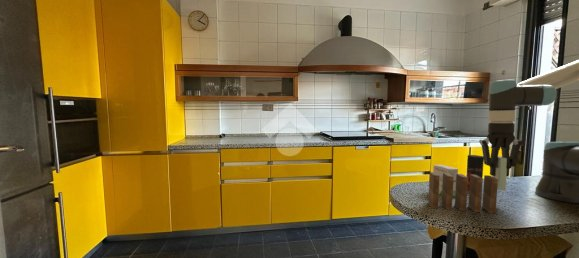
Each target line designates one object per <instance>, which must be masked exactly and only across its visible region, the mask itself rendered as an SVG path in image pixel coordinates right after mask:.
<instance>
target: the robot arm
mask: <svg viewBox="0 0 579 258" xmlns="http://www.w3.org/2000/svg"><path fill="white" fill-rule="evenodd" d="M576 82H579V59H577V60H575V61H572V62H570V63H567V64H564V65H562V66H559V67H557V68H553V69H551V70H549V71H547V72H544V73H542V74H539V75H536V76H534V77H531V78H528V79H527V80H523V81H521V82H518V83H517V80H515V79H500V80H494V81H492V82H491V83H490V84H489V91H488V94H489V95H488V97H489V99H488V122H489V123H488V126H487V127H488V128H487V129H488V131H487V132H488V134H487V136H486V138H484V139H480V140H479V141H478V142H479V143H480V146H481V150H482V156H483V159H484V162H483V165H486V166H488V167H489V176H492V177H494V178H496V179H498V177H499V168H497V160H498V156H499V151H500V149H501V157H504V158H507V165H506V177H510V169H512V168H513V167H516V166H517V162H518V158H519V154H520V148H521V146H522V145H523V143H524V142H523V140H519V139H517V138H516V136H515V128H516V127H515V125H516V124H515V123H514V122H515V121H516V107H526V106H527V107H533V106H535V107H537V106H538V107H542V106H549V105H551V104H553V103H554V102H555V101H556V99H557V93H558V92H557V89H561V88H562V87H565V86H568V85H570V84H573V83H576ZM489 143H490V144H491V145H490V146H491V151H490V146H489ZM511 144H512V145H511ZM510 146H511V147H510ZM542 164H543V165H542V176H541V178H540V179H539V181H538V183H537V185H536V187H535V191H534V192H535V194H536V195H538V196H540V197H543V198H545V199H546V198H547V199H550V200H553V201H559V202H565V203H572V204H573V203H574V204H579V141H548V142H546V144H545V145H544V149H543V163H542Z"/></svg>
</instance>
